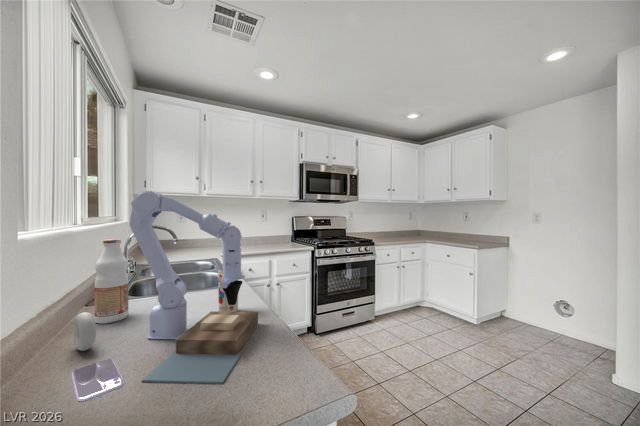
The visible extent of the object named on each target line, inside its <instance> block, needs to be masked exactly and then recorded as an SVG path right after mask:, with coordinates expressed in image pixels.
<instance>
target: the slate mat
mask: <svg viewBox="0 0 640 426" xmlns="http://www.w3.org/2000/svg"><path fill="white" fill-rule="evenodd" d="M241 356H242V352H239V353H237V355H229V354H176V351H174V352H172V353H171V354H170V355H168V356H167V358H165V359H164V360H163V361H162V362H161V363H160V364H159V365H157V366H156V367H155V368H154V369H153V370H151V371H150V373H148V374H147V375H146V376H145V377H144V378H142V379H141V383H171V384H172V383H173V384H175V383H176V384H219V385H221V384H222V385H223V384H224V383H225V381H226V380H227V378H228V376H229V375H230V373H231V372H232V371H233V368H234V367H235V366H236V364H237V362H238V361H239V360H240V357H241Z"/></svg>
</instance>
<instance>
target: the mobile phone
mask: <svg viewBox="0 0 640 426" xmlns="http://www.w3.org/2000/svg"><path fill="white" fill-rule="evenodd" d="M71 377H72V382H73V387H74V392H75V396H76V399H77V402H79V401H80V403H81V401H82V402H86V401H88V400H91V399H93V398H96V397H98V396H101V395H102V394H103V395H104V394H106V393H108V392H110V391H113V390H116V389H119V388H121V387H122V386H123V385H125V380H124V378H123V377H122V374H121V373H120V371H119V369H118V367H117V365H116V363H115V362H114V360H113V359H112V358H107V359H104V360H101V361H97V362H95V363H90V364H89V365H85V366H83V367H79V368H77V369H76V368H75V369H74V370H73V371H71ZM90 398H91V399H90ZM85 400H86V401H85Z"/></svg>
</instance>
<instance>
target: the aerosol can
mask: <svg viewBox="0 0 640 426" xmlns="http://www.w3.org/2000/svg"><path fill="white" fill-rule="evenodd" d="M217 277H218V280H217V281H218V283H217V284H218V290H217V291H218V312H239V296H238V297H237V302H236V304H235V305H228V301H227V297H226V294H225V292H224V290H223V288H220V282H221V280H222V277H223V263H222V264H221V266H219V267H218V276H217Z"/></svg>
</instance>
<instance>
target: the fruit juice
mask: <svg viewBox="0 0 640 426" xmlns="http://www.w3.org/2000/svg"><path fill="white" fill-rule="evenodd" d="M121 242H122V240H121V239H120V238H112V239H111V238H109V239H103V240H102V243H103V249H102V252H101V254H100V255H99V258H98V259H97V260H96V262H95V266H94V268H95V272H96V277H95V279H94V319H95V323H96V324H110V323H115V322H119V321H122V320H124V319H126V318H127V317H128V316H129V275H128V272H127V270H128V266H129V261H128V259H127V258H126V256H125V255H124V253H123V250H122V248H121Z"/></svg>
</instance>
